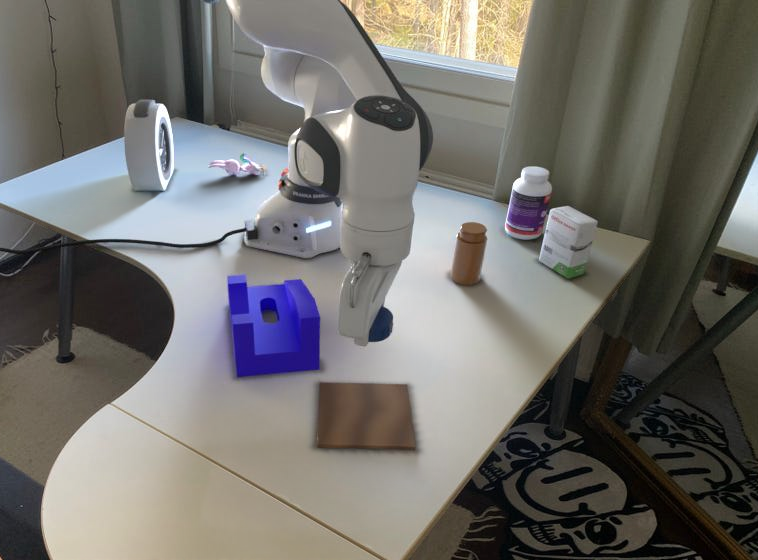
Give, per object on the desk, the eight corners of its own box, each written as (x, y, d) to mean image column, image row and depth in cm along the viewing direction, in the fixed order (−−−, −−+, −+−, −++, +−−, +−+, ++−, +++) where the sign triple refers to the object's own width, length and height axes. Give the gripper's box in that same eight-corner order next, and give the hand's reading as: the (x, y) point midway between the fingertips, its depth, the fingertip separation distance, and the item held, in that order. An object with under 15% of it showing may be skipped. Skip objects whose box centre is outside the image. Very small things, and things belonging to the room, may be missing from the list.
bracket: (319, 369, 110) (320, 316, 104) (237, 377, 109) (232, 324, 102) (301, 301, 127) (300, 252, 120) (229, 307, 125) (225, 258, 119)
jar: (450, 283, 132) (458, 233, 125) (450, 269, 136) (458, 219, 129) (480, 286, 131) (489, 235, 124) (479, 271, 135) (488, 222, 129)
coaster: (317, 447, 96) (317, 444, 96) (319, 385, 107) (319, 382, 107) (414, 449, 95) (415, 446, 95) (406, 387, 107) (407, 384, 106)
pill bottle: (542, 243, 145) (557, 180, 136) (504, 240, 146) (517, 177, 137) (539, 227, 151) (554, 165, 142) (503, 223, 152) (515, 162, 144)
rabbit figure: (263, 173, 179) (207, 167, 176) (266, 151, 176) (209, 145, 173) (265, 182, 175) (208, 176, 171) (268, 160, 171) (209, 154, 168)
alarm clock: (161, 197, 164) (150, 116, 152) (131, 197, 164) (117, 115, 152) (176, 164, 181) (166, 89, 169) (148, 164, 181) (137, 88, 169)
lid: (401, 331, 91) (402, 317, 90) (369, 348, 88) (371, 333, 86) (369, 312, 95) (370, 298, 93) (338, 327, 91) (339, 313, 90)
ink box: (585, 274, 134) (600, 220, 127) (566, 279, 133) (581, 225, 125) (555, 255, 141) (568, 203, 133) (536, 260, 139) (549, 208, 132)
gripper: (379, 282, 74) (371, 378, 83) (417, 208, 89) (407, 295, 98) (325, 272, 76) (323, 367, 84) (372, 201, 91) (366, 287, 100)
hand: (369, 328), depth 91 cm, fingers closed on lid, 6 cm apart
